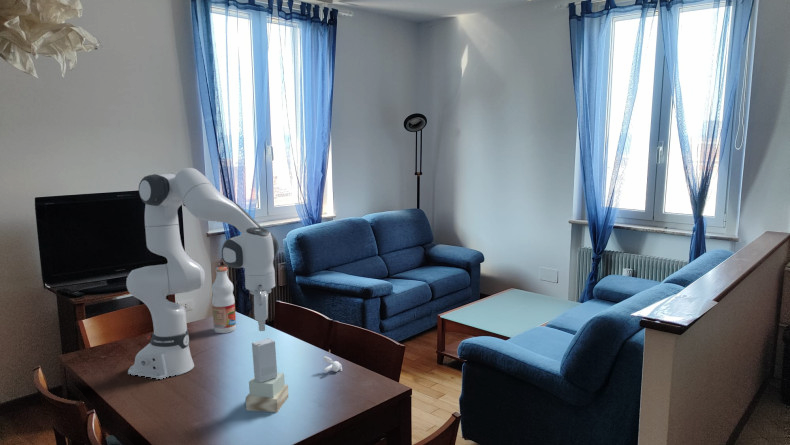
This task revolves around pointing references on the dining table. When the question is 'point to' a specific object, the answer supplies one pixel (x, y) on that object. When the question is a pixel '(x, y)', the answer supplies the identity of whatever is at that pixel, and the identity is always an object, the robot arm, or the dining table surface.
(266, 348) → the skincare box
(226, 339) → the dining table surface
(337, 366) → the rabbit figurine
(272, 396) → the sage top block
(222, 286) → the fruit juice
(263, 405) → the birch base block
